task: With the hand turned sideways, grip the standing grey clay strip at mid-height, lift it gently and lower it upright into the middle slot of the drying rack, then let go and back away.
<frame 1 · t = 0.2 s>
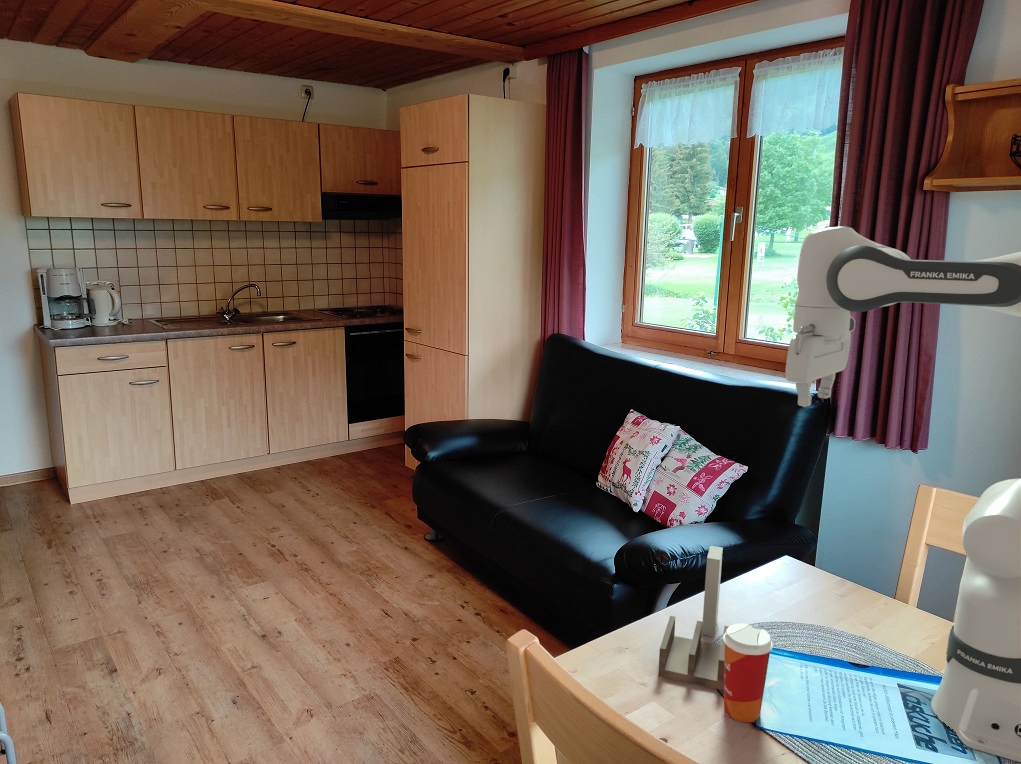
hand: (814, 401, 132), 48 cm above the table, tool pointing down, fingers open, 8 cm apart
rack: (708, 667, 135), on the table
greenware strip: (709, 627, 149), on the table
paper cup: (741, 713, 123), on the table
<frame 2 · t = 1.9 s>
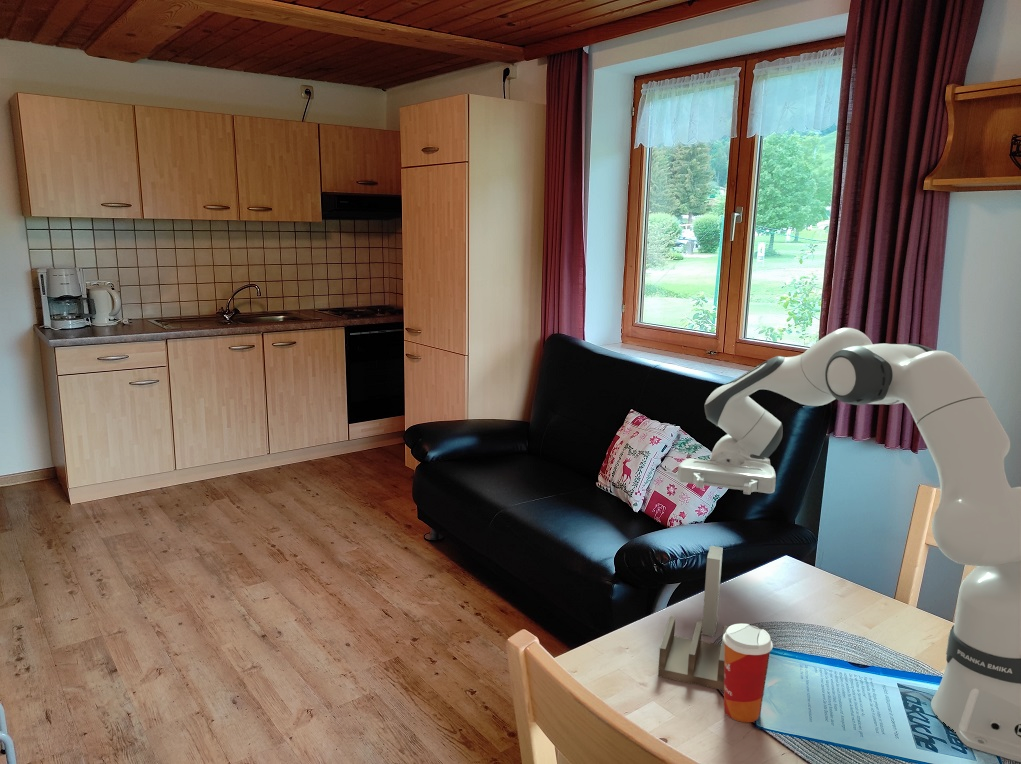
hand: (723, 487, 155), 25 cm above the table, tool horizontal, fingers open, 8 cm apart
nothing on the table moved.
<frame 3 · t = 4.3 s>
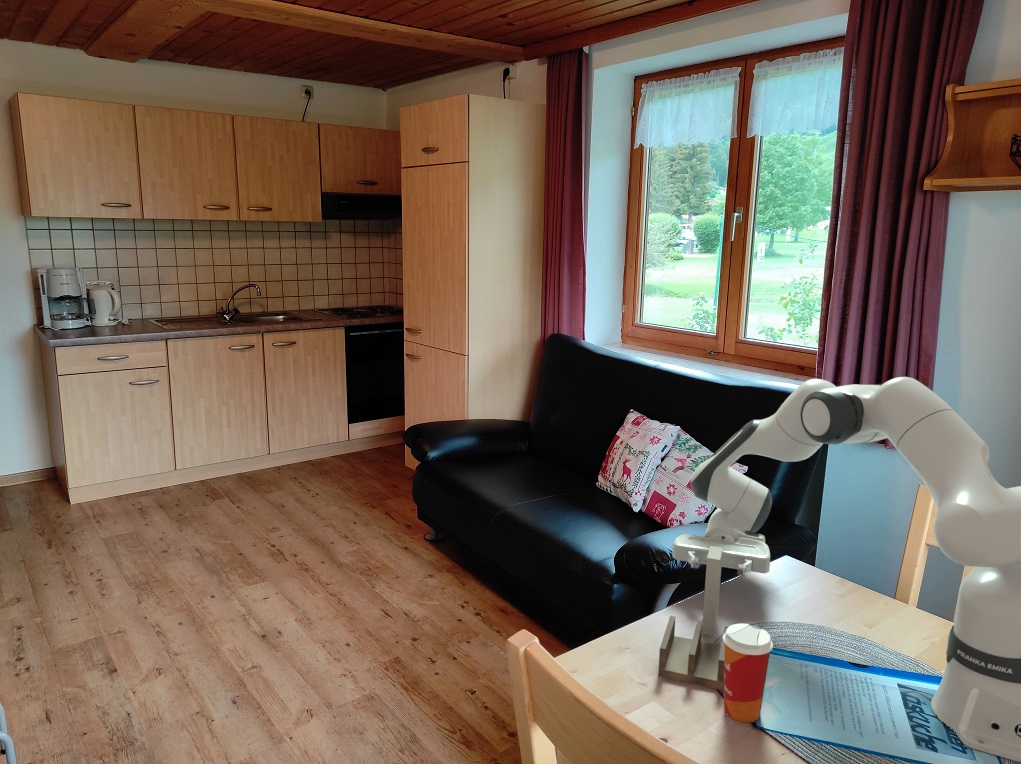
hand: (717, 568, 155), 9 cm above the table, tool horizontal, fingers open, 8 cm apart
nothing on the table moved.
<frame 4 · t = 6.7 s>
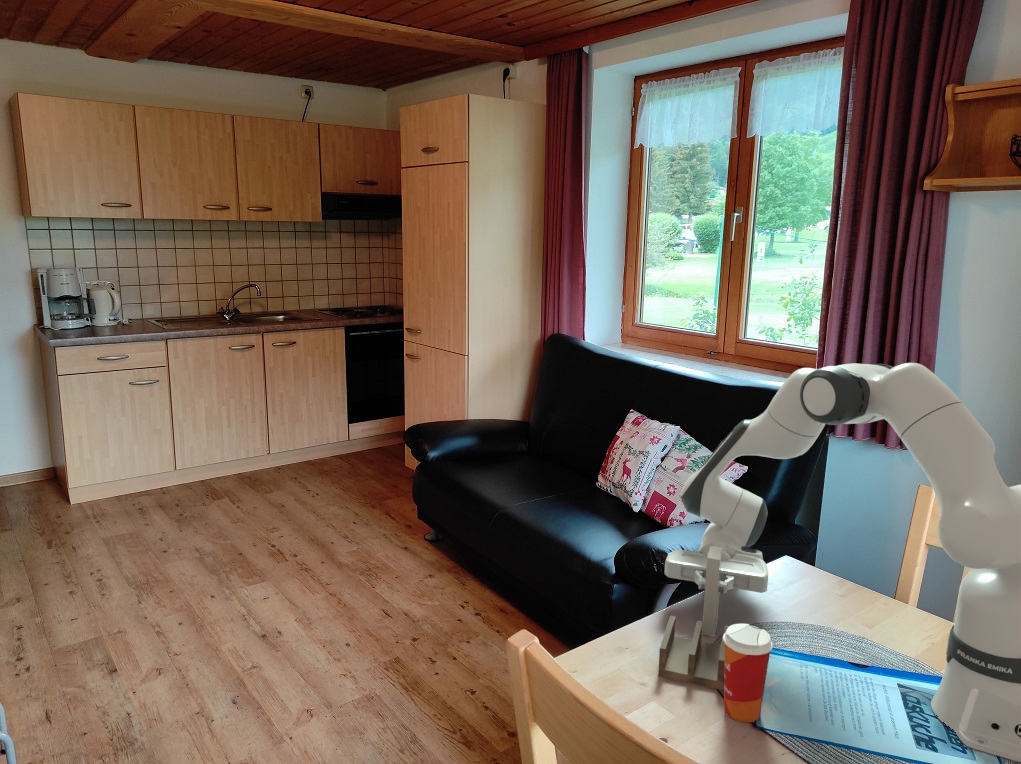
hand: (712, 587, 146), 9 cm above the table, tool horizontal, fingers closed on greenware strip, 2 cm apart
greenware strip: (709, 627, 149), on the table, touching gripper
everything else where it was.
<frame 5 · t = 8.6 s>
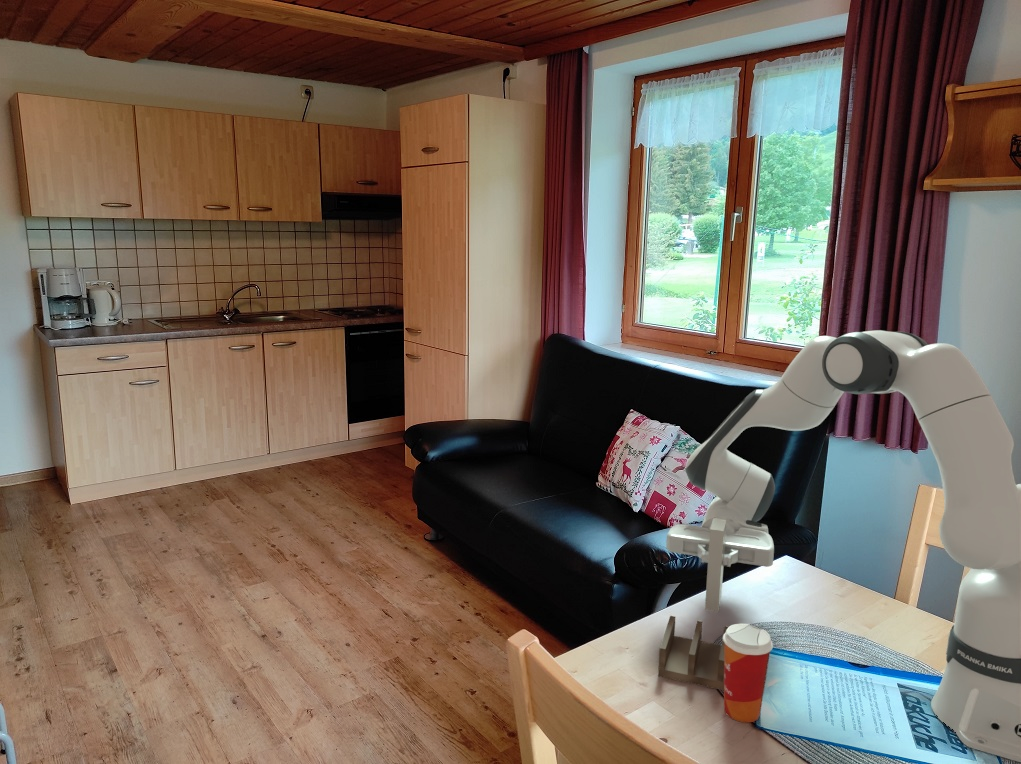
hand: (715, 561, 140), 17 cm above the table, tool horizontal, fingers closed on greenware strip, 2 cm apart
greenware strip: (713, 603, 143), point 8 cm above the table, touching gripper
everything else where it was.
when the fingers open (12 cm above the table, at t = 10.8 s): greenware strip drops 2 cm, resting on rack.
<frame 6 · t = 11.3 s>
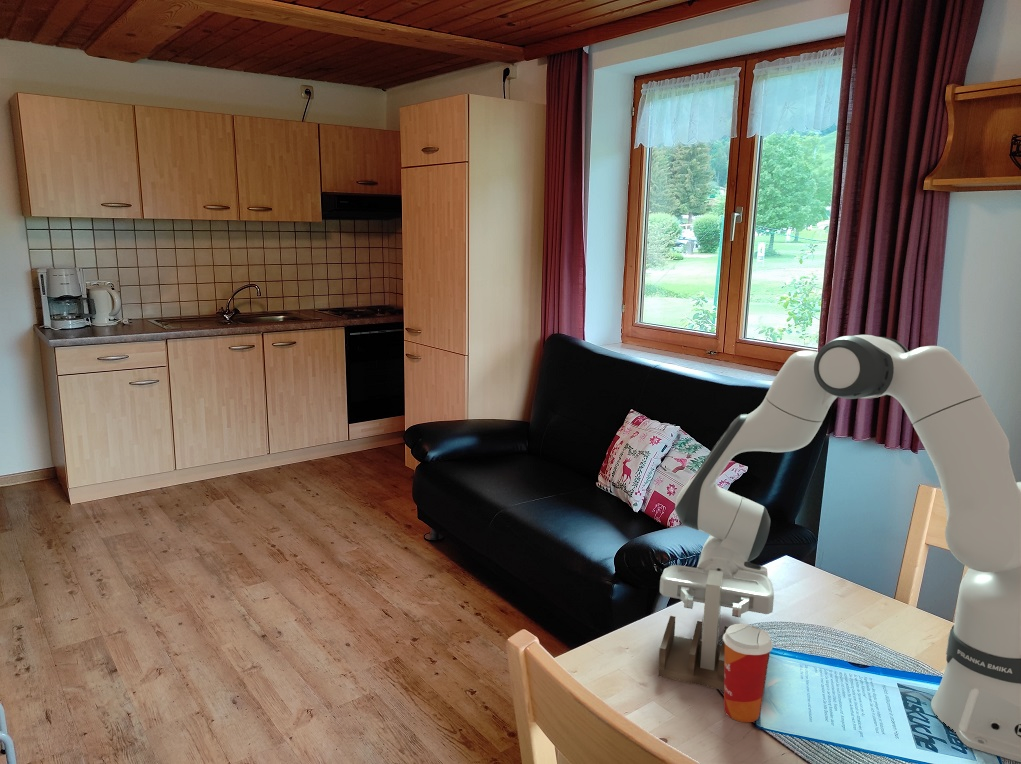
hand: (712, 608, 132), 12 cm above the table, tool horizontal, fingers open, 7 cm apart
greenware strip: (708, 660, 135), point 1 cm above the table, touching rack
everything else where it was.
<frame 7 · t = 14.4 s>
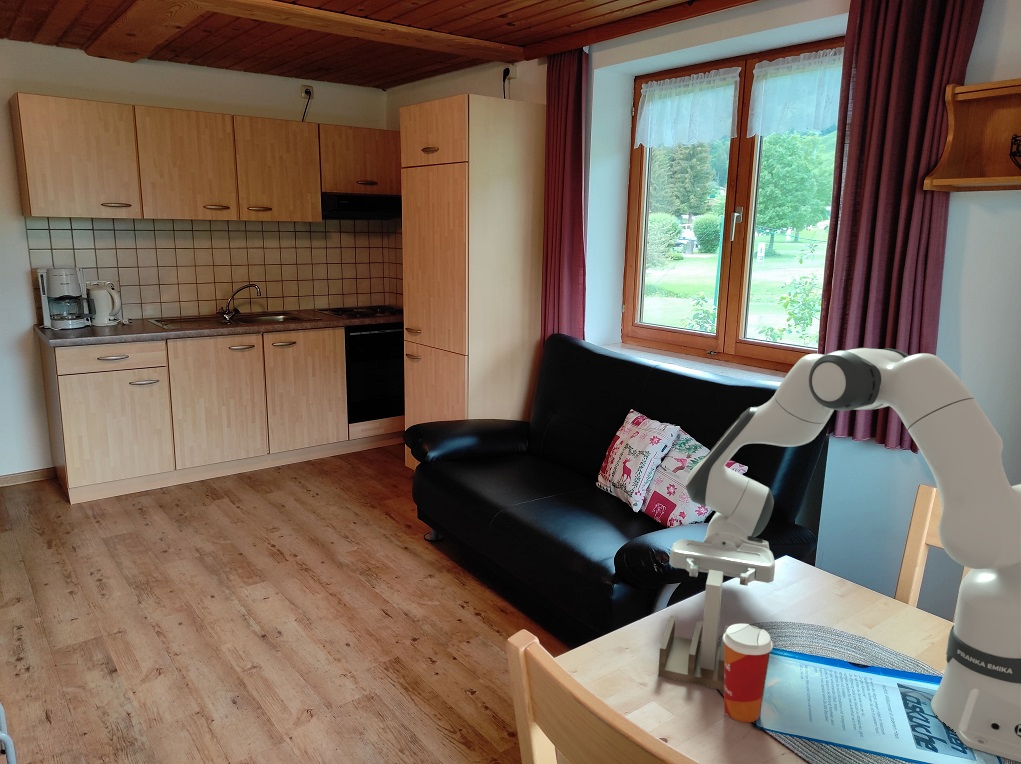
hand: (718, 577, 144), 12 cm above the table, tool horizontal, fingers open, 8 cm apart
nothing on the table moved.
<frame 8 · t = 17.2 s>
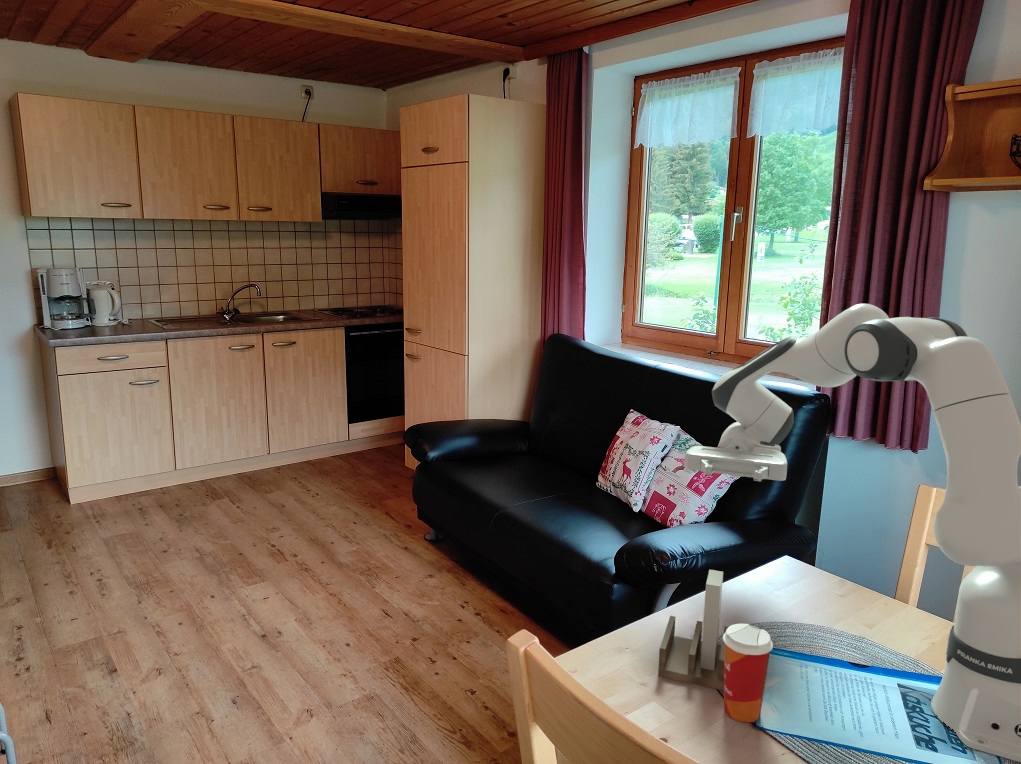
hand: (732, 474, 149), 30 cm above the table, tool horizontal, fingers open, 8 cm apart
nothing on the table moved.
at the end: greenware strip 0.0 cm off-centre on the rack, point 1.5 cm above the rack's base; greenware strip tilted 0°; the gripper is holding nothing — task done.
